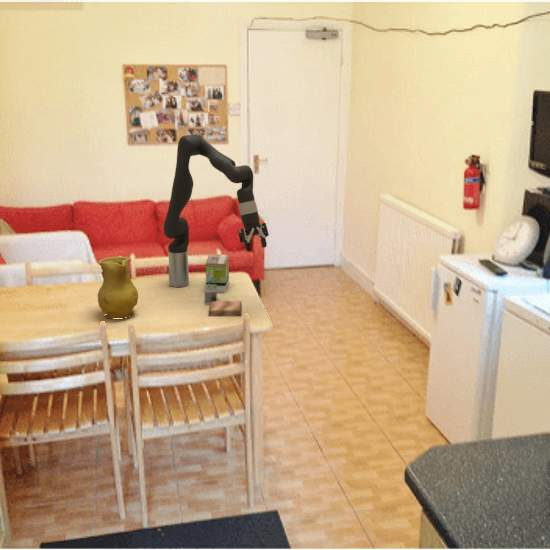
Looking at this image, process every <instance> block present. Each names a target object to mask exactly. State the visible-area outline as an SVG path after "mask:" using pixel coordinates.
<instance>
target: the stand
mask: <svg viewBox="0 0 550 550" xmlns="http://www.w3.org/2000/svg"><path fill="white" fill-rule="evenodd" d="M208 306H209V307H208V317H241V316H242V301H240V300H233V301H232V300H230V301H229V300H226V301H225V300H223V301H222V300H218V301H211V302H210V305H208Z"/></svg>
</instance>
